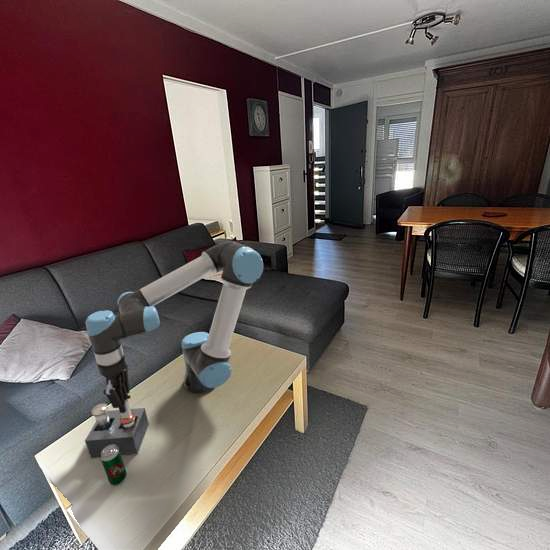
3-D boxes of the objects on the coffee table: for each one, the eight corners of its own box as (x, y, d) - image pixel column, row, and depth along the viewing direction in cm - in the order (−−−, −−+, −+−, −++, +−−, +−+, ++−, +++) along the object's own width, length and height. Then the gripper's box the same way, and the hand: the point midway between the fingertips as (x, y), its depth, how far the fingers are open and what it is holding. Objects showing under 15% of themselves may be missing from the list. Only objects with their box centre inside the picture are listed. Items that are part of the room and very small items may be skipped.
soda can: (113, 471, 95) (104, 443, 91) (129, 469, 96) (121, 442, 91) (106, 487, 91) (96, 459, 86) (123, 485, 91) (114, 457, 87)
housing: (148, 424, 112) (144, 407, 109) (137, 454, 101) (132, 436, 98) (107, 427, 111) (101, 411, 108) (91, 458, 100) (84, 440, 97)
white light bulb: (114, 420, 105) (109, 402, 102) (109, 431, 101) (103, 413, 98) (101, 421, 105) (95, 403, 102) (94, 432, 101) (88, 414, 98)
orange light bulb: (140, 428, 107) (136, 411, 104) (136, 439, 103) (131, 421, 100) (127, 429, 107) (122, 412, 104) (122, 440, 103) (117, 423, 100)
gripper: (107, 347, 99) (122, 402, 108) (87, 374, 87) (106, 434, 96) (131, 345, 99) (144, 401, 108) (114, 372, 87) (131, 432, 96)
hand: (126, 416), depth 102 cm, fingers closed
